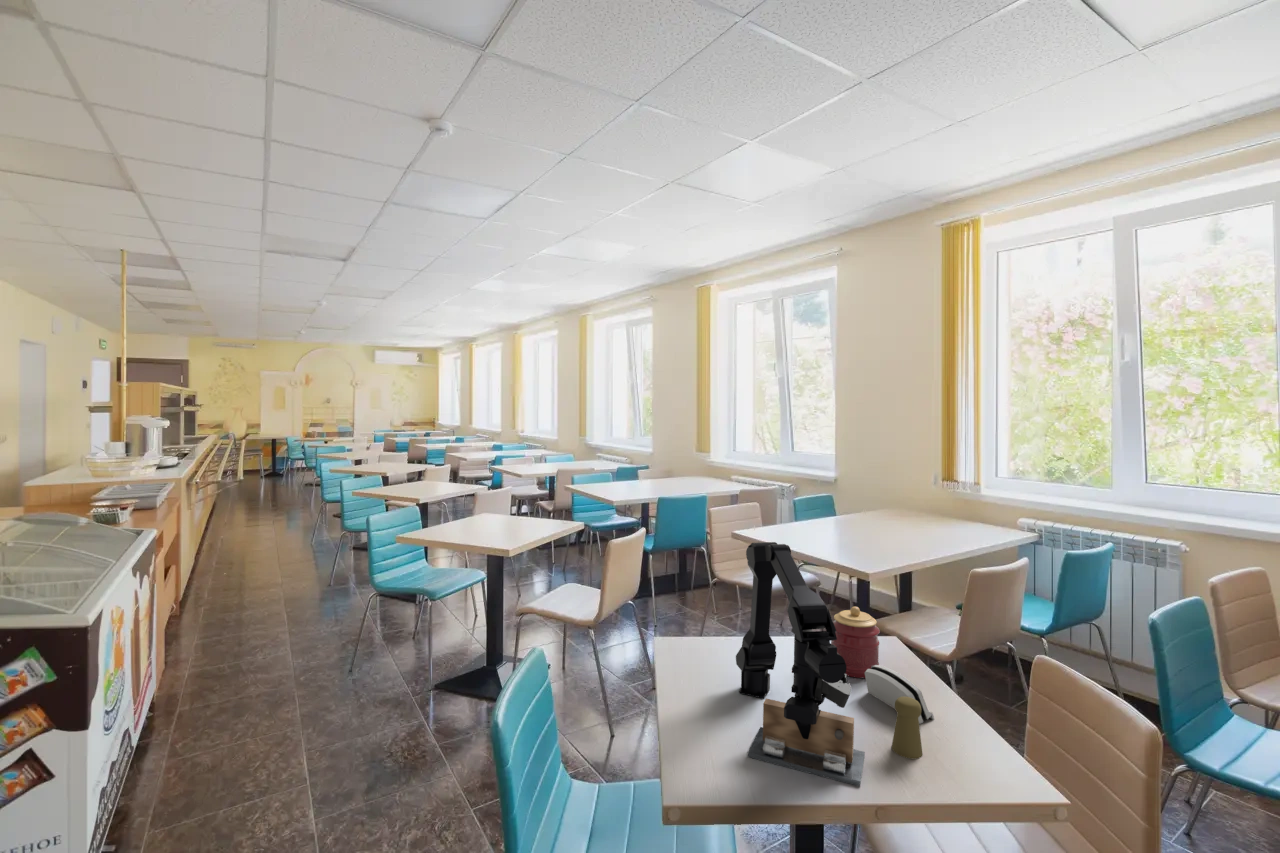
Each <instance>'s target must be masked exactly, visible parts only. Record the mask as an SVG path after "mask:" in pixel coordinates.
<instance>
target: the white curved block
mask: <svg viewBox="0 0 1280 853" xmlns="http://www.w3.org/2000/svg"><path fill="white" fill-rule="evenodd" d="M864 679H865V682H866V688H867V693H868V694H870V695H871V696H873V697H874V698H876V699H877V700H879V701H881V702H882V703H884V704H886V705H888V706H889V707H891V708H893V709H894V710H895V701H896V700H897V698H899V697H903V696H904V697H910V698H913V699H915V700H917V701H918V702H919V703H920V705H921V715H920V716H919V717H918V719H919V725H921V724H923V723H924V719H926V720H929V719H931V720H933V721H934V720H935V716H934V713H933V712H932V711H930V709H928V706H927V704H926V701H925V699H924V695H923V693H922V690H921V689H920V688H919V687H918V686H917V685H915V684H914V683H913V682H912V681H911V680H909V679H908V678H907V677H905V676H904V675H903V674H902V673H900V672H897V671H896V670H894V669H892V668H889V667H887V666H885V665H880V664H879V665H875V666H872V667H871V669H867V670H866V672H865V678H864Z"/></svg>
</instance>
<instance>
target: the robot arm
mask: <svg viewBox="0 0 1280 853" xmlns="http://www.w3.org/2000/svg"><path fill="white" fill-rule="evenodd" d="M745 556H746V561H747V566H748V567H749V570H750V571H751V573H752V576H753V577H752V593H751V605H750V606H751V608H750V622H749V625H750V626H749V630H748V631H747V632H746V633H745V635H744V636H743V638H742V643H741V647H740V648H739V649H738V652H737V653H736V655H735V664H736V666H737V667H738V668H739V669H740V673H741V674H740V676H741V677H740V678H741V679H740V682H741V683H740V689H739V690H738V693H739V694H741V695H747V696H751V697H755V698H761V699H765V698H766V695H768V693H769V692H770V689H771V685H770V684H771V674H770V673H769V670H771V671H772V670H774V669H775V664H776V659H777V651H776V650H777V646H776V644H775V642H774V641H773V639H772V637H771V634H770V627H771V626H770V623H771V613H772V612H771V611H772V610H771V609H772V595H773V584H774V583H773V582H774V581H773V580H774V579H775V577H776V576H777V578H778V580H779V583H780V584H781V586H782V589H783V591H784V592H785V595H786V597H787V599H788V605H787V608H786V611H787V614H788V616H787V617H788V620H789V622H790V626H791V632H792V633H793V634H794V638H793V642H794V644H793V665H792V667H791V673H792V674H793V683H792V686H791V693H794V696H791V697H789V698H788V699H787V700H786V702H785V703H786V704H785V706H784V717H785V718H786V719H790V720H795V722H796V724H797V726H798V728H799V731H800V733H801V735H802V738H803V739H808V738H809V733H810V729H811V724H812V725H813V724H816V723H817V720H818V716H819V714H820V711H822V710H821V709H820V707H819V706H821V705H822V704H823V703H824V700H825V699H827V700H828V701H830V702H832V703H833V704H836V706H837V707H839V708H840V709H841V708H842V709H844V708H845V707H846V705H847V702H848V700H849V698H850V696H851V693H852V689H853V688H852V686H851V683H850V682H848V676H847V674H845V673H846V668H847V666H846V663H845V660H844V659H843V657H842V656H841V655H839V654H838V653H837V647H836V646H834V645H832V644H831V641H832V640H837V637H836V634H835V632H836V628H835V626H834V623H833V621H834V620H833V617H832V616H831V613H830V611H829V607H828V606H827V604H826V603H825V601H823V599H822V598H821V596H820V595H819V594H818V593H817V592H816V591H815V592H814V591H813V590H812V589H810V588H809V587H808V584H807V583H806V580H805V579H804V577H803V575H802V573H801V571H800V569H799V567H798V565H797V563H796V562H795V560H794V557H793V555H792V550H791V547H790V546H789V545H788V544H785V543H777V542H776V541H771V542H770V541H767V542H761V541H760V542H750V544H749V545H748V546H747V548H746V552H745ZM823 629H825V630H823ZM814 630H818V631H814Z"/></svg>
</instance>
